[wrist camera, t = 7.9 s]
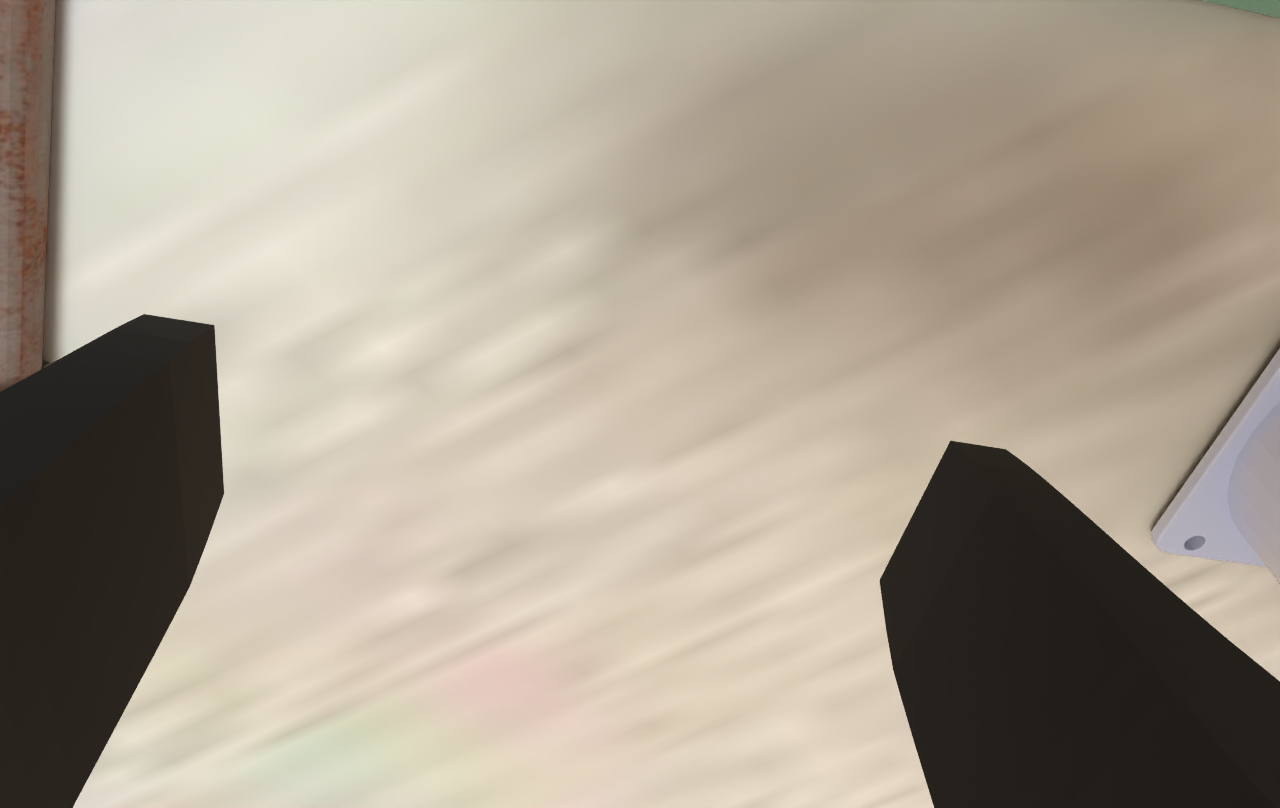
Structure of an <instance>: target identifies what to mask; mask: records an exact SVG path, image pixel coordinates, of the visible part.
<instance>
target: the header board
mask: <svg viewBox="0 0 1280 808" xmlns="http://www.w3.org/2000/svg"><path fill="white" fill-rule="evenodd" d="M1202 1H1207V2H1211V3H1215V4H1220V5H1224V6H1228V7H1233V8H1237V9H1241V10H1246V11H1250V12H1254V13H1259V14H1263V15H1267V16H1272V17H1276V18H1280V0H1202Z"/></svg>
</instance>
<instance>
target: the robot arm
mask: <svg viewBox="0 0 1280 808" xmlns="http://www.w3.org/2000/svg"><path fill="white" fill-rule="evenodd" d="M223 495H224V485H223V468H222V451H221V434H220V416H219V399H218V382H217V364H216V347H215V330H214V325H209V324H203V323H196V322H190V321H184V320H177V319H171V318H165V317H158V316H152V315H145V314H144V315H142V316H140V317H138V318H135V319H133V320H131V321H129V322H127V323H125V324H123V325H121V326H119V327H117V328H115V329H114V330H112V331H110V332H108V333H106V334H104V335H102V336H101V337H99V338H97V339H95V340H93V341H91V342H90V343H88V344H86V345H84V346H82V347H81V348H79V349H77V350H75V351H73V352H72V353H70V354H68V355H66V356H64V357H63V358H61V359H59V360H57V361H55V362H54V363H52V364H50V365H48V366H46V367H45V368H43V369H41V370H39V371H37V372H36V373H34V374H32V375H30V376H28V377H27V378H25V379H23V380H21V381H19V382H17V383H15V384H14V385H12V386H10V387H8V388H6V389H4V390H3V391H1V392H0V808H73V806H74V804H75V802H76V800H77V798H78V796H79V794H80V792H81V791H82V789H83V787H84V785H85V783H86V781H87V779H88V778H89V776H90V774H91V772H92V770H93V768H94V766H95V764H96V763H97V761H98V759H99V757H100V755H101V753H102V751H103V749H104V748H105V746H106V744H107V742H108V740H109V738H110V736H111V734H112V733H113V731H114V729H115V727H116V725H117V723H118V721H119V719H120V718H121V716H122V714H123V712H124V710H125V708H126V706H127V705H128V703H129V701H130V699H131V697H132V695H133V693H134V691H135V690H136V688H137V686H138V684H139V682H140V680H141V678H142V676H143V675H144V673H145V671H146V669H147V667H148V665H149V663H150V662H151V660H152V658H153V656H154V654H155V652H156V650H157V648H158V646H159V644H160V642H161V641H162V639H163V637H164V635H165V633H166V631H167V629H168V627H169V625H170V623H171V622H172V620H173V618H174V616H175V614H176V612H177V610H178V608H179V606H180V604H181V602H182V600H183V598H184V596H185V595H186V593H187V591H188V589H189V587H190V584H191V582H192V579H193V577H194V574H195V571H196V569H197V566H198V564H199V561H200V558H201V556H202V553H203V551H204V548H205V545H206V543H207V540H208V537H209V534H210V531H211V529H212V526H213V523H214V520H215V517H216V515H217V512H218V509H219V506H220V503H221V500H222V498H223ZM1151 540H1152V541H1153V543H1154V544H1155V546H1156V547H1157V548H1158V549H1159V550H1160V551H1161V552H1164V553H1169V554H1176V555H1184V556H1191V557H1198V558H1205V559H1213V560H1220V561H1227V562H1234V563H1242V564H1249V565H1256V566H1264V567H1267V568H1268V569H1269V571H1270V572H1271V573H1272V574H1273V576H1274V577H1275V578H1276V579H1277V581H1278V582H1279V583H1280V349H1279V350H1278V352H1277V353H1276V354H1275V356H1274V357H1273V359H1272V360H1271V362H1270V363H1269V364H1268V366H1267V367H1266V369H1265V370H1264V371H1263V373H1262V374H1261V376H1260V377H1259V379H1258V380H1257V381H1256V383H1255V384H1254V386H1253V387H1252V389H1251V390H1250V391H1249V393H1248V394H1247V396H1246V397H1245V399H1244V400H1243V401H1242V403H1241V404H1240V406H1239V407H1238V408H1237V410H1236V411H1235V413H1234V414H1233V416H1232V417H1231V418H1230V420H1229V421H1228V423H1227V424H1226V426H1225V427H1224V428H1223V430H1222V431H1221V433H1220V434H1219V435H1218V437H1217V438H1216V440H1215V441H1214V443H1213V444H1212V445H1211V447H1210V448H1209V450H1208V451H1207V453H1206V454H1205V455H1204V457H1203V458H1202V460H1201V461H1200V463H1199V464H1198V465H1197V467H1196V468H1195V470H1194V471H1193V472H1192V474H1191V475H1190V477H1189V478H1188V480H1187V481H1186V482H1185V484H1184V485H1183V487H1182V488H1181V490H1180V491H1179V492H1178V494H1177V495H1176V497H1175V498H1174V500H1173V501H1172V502H1171V504H1170V505H1169V507H1168V508H1167V509H1166V511H1165V512H1164V514H1163V515H1162V517H1161V518H1160V519H1159V521H1158V522H1157V524H1156V525H1155V527H1154V528H1153V530H1152V532H1151ZM880 586H881V594H882V601H883V609H884V616H885V623H886V630H887V636H888V642H889V648H890V653H891V659H892V665H893V670H894V674H895V677H896V681H897V685H898V688H899V692H900V695H901V699H902V702H903V705H904V709H905V712H906V716H907V719H908V722H909V726H910V729H911V732H912V736H913V739H914V743H915V746H916V749H917V752H918V756H919V759H920V762H921V766H922V769H923V772H924V775H925V779H926V782H927V785H928V788H929V792H930V795H931V798H932V802H933V805H934V808H1280V681H1278V680H1277V679H1276V678H1275V677H1273V676H1272V675H1271V674H1270V673H1269V672H1267V671H1266V670H1265V669H1264V668H1262V667H1261V666H1260V665H1259V664H1257V663H1256V662H1255V661H1254V660H1253V659H1251V658H1250V657H1249V656H1248V655H1246V654H1245V653H1244V652H1243V651H1241V650H1240V649H1239V648H1238V647H1236V646H1235V645H1234V644H1233V643H1232V642H1230V641H1229V640H1228V639H1227V638H1226V637H1224V636H1223V635H1222V634H1221V633H1220V632H1218V631H1217V630H1216V629H1215V628H1214V627H1213V626H1211V625H1210V624H1209V623H1208V622H1207V621H1205V620H1204V619H1203V618H1202V617H1201V616H1200V615H1198V614H1197V613H1196V612H1195V611H1194V610H1192V609H1191V608H1190V607H1189V606H1188V605H1187V604H1186V603H1184V602H1183V601H1182V600H1181V599H1180V598H1179V597H1177V596H1176V595H1175V594H1174V593H1173V592H1172V591H1171V590H1169V589H1168V588H1167V587H1166V586H1165V585H1164V584H1163V583H1161V582H1160V581H1159V580H1158V579H1157V578H1156V577H1155V576H1153V575H1152V574H1151V573H1150V572H1149V571H1148V570H1147V569H1146V568H1144V567H1143V566H1142V565H1141V564H1140V563H1139V562H1138V561H1137V560H1135V559H1134V558H1133V557H1132V556H1131V555H1130V554H1129V553H1128V552H1126V551H1125V550H1124V549H1123V548H1122V547H1121V546H1120V545H1119V544H1117V543H1116V542H1115V541H1114V540H1113V539H1112V538H1111V537H1110V536H1108V535H1107V534H1106V533H1105V532H1104V531H1103V530H1102V529H1101V528H1099V527H1098V526H1097V525H1096V524H1095V523H1094V522H1093V521H1092V520H1090V519H1089V518H1088V517H1087V516H1086V515H1085V514H1084V513H1083V512H1081V511H1080V510H1079V509H1078V508H1077V507H1076V506H1075V505H1074V504H1072V503H1071V502H1070V501H1069V500H1068V499H1067V498H1066V497H1064V496H1063V495H1062V494H1061V493H1060V492H1059V491H1057V490H1056V489H1055V488H1054V487H1053V486H1052V485H1050V484H1049V483H1048V482H1047V481H1046V480H1045V479H1043V478H1042V477H1041V476H1040V475H1039V474H1037V473H1036V472H1035V471H1034V470H1032V469H1031V468H1030V467H1029V466H1027V465H1026V464H1025V463H1024V462H1022V461H1021V460H1020V459H1018V458H1017V457H1015V456H1014V455H1013V454H1011V453H1010V452H1009V451H1007V450H1006V449H1000V448H993V447H987V446H981V445H974V444H968V443H961V442H955V441H950V443H949V445H948V447H947V449H946V451H945V453H944V455H943V457H942V459H941V460H940V462H939V464H938V466H937V468H936V470H935V472H934V474H933V476H932V478H931V480H930V482H929V484H928V486H927V488H926V490H925V492H924V494H923V496H922V498H921V500H920V502H919V504H918V506H917V508H916V510H915V512H914V514H913V516H912V518H911V520H910V522H909V524H908V526H907V528H906V529H905V531H904V533H903V535H902V537H901V539H900V541H899V543H898V545H897V547H896V549H895V551H894V553H893V555H892V557H891V559H890V561H889V563H888V565H887V567H886V569H885V571H884V573H883V575H882V577H881V579H880Z"/></svg>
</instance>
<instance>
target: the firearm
mask: <svg viewBox="0 0 1280 808" xmlns="http://www.w3.org/2000/svg"><path fill="white" fill-rule="evenodd" d="M55 8H56V0H0V392H1V391H3V390H4V389H6V388H8V387H10V386H12V385H14V384H15V383H17V382H19V381H21V380H23V379H25V378H27V377H28V376H30V375H32V374H34V373H36V372H37V371H39V370H41V369H43V368H45V367H46V366H48V365H49V362H45V361H42V352H43V325H44V299H45V272H46V246H47V220H48V193H49V167H50V140H51V114H52V87H53V61H54V35H55Z"/></svg>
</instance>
